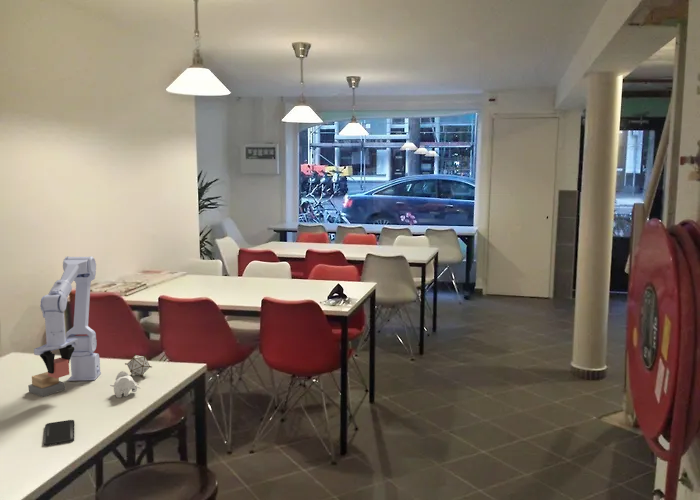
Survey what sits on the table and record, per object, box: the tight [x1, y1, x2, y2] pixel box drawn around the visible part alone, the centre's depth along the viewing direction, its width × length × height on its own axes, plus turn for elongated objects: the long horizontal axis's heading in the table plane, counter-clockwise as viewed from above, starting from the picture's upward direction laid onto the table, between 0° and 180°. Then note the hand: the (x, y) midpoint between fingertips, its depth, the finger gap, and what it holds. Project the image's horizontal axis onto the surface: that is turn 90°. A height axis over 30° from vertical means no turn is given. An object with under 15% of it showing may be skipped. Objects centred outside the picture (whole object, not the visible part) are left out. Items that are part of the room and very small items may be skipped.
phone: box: [43, 419, 75, 447], centre depth 180 cm, size 8×1×15 cm
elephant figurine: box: [109, 370, 141, 398], centre depth 210 cm, size 8×10×7 cm
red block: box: [48, 357, 70, 379], centre depth 206 cm, size 5×5×5 cm
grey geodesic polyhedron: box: [124, 353, 153, 378], centre depth 229 cm, size 9×8×10 cm
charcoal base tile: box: [28, 380, 66, 397], centre depth 214 cm, size 8×8×3 cm
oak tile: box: [31, 371, 60, 388], centre depth 213 cm, size 6×6×3 cm
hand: (58, 370), depth 206 cm, fingers closed on red block, 5 cm apart
